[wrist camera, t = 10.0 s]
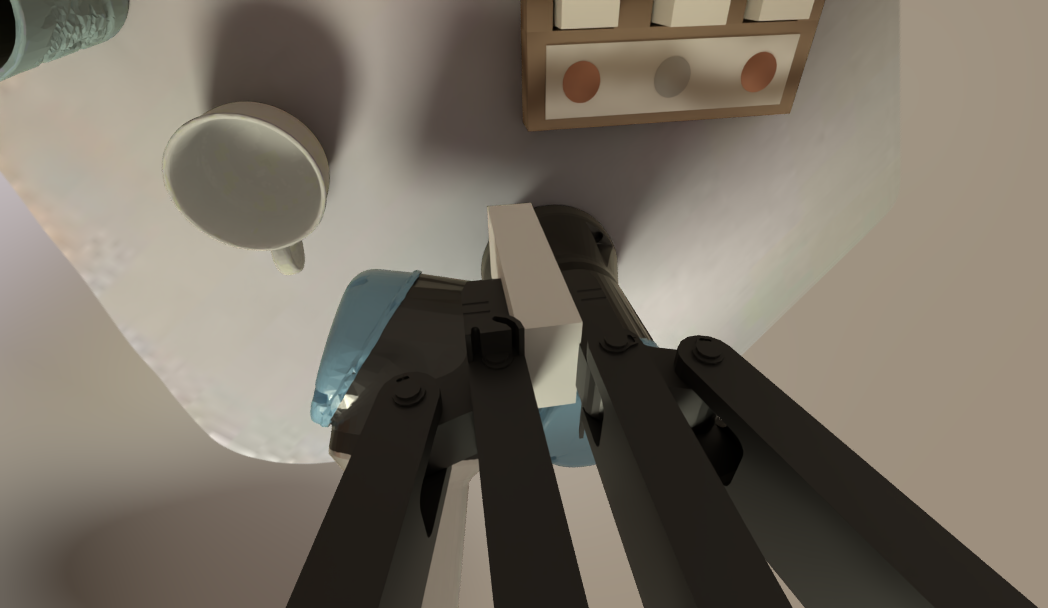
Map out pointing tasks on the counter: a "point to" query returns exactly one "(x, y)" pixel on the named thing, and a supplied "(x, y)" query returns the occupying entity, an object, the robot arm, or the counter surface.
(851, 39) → the counter surface
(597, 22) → the button
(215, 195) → the teacup
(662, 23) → the button middle
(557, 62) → the button board
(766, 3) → the button
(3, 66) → the blue-green cup
